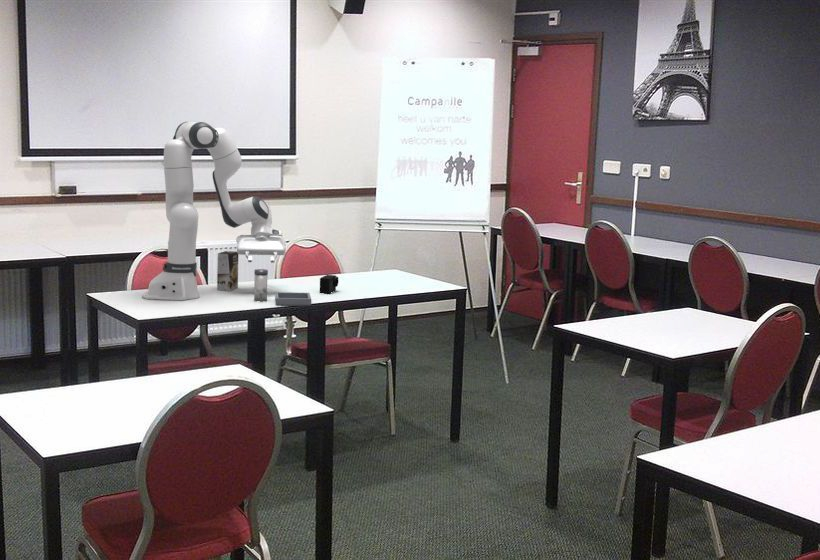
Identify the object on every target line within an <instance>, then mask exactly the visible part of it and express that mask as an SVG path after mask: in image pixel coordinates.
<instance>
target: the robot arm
mask: <svg viewBox="0 0 820 560" xmlns="http://www.w3.org/2000/svg"><path fill="white" fill-rule="evenodd" d="M163 147H164V149H163V171H164V172H163V174H164V185H165V216H166V219H167V221H168V222H169V235H168V240H167V241H168V242H167V261H163V263H162V272H160V273H159V274H157V275H156V276H155V277H154V278H152V279H151V280H150V282H149V284H148V289H147V291H144V292H143V293H142V298H143V299H146V300H161V301H162V300H163V301H164V300H165V301H185V300H192V299H197V298H199V297H200V293H199V289H198V283H197V275H198V265H197V262H196V261H197V258H196V257H197V256H196V255H197V251H196V249H197V236H198V226H199V212H198V210H197V208H196V207H195V206H194V187H195V186H194V185H195V184H194V173H193V163H192V155H193V152H194V150H205V149H207V151H208V152H209V155H210V157H211V158H212V160H213V163H214V170H213V171H212V180H213V185H214V188H215V192H216V196H217V198H218V201H219V202H218V203H219V207H220V210H221V216H222V219H223V222H224V223H225V224H226V225H227V226H229V227H231V228H234V229H235V228H238V227H240V226H242V225H244V224H247V223H250V224H251V227H250V234H240V235H238V236H237V237H236V243H237V246H236V252H237V253H238V256H239V255H242V256H244V255H245V257H246V259H247V261H248V262H247V263H252V262H253V260H252V259H253V257H252V256H253V255H254V256H271V257H270V263H271V264H274V263H275V262H276V261H275V260H276V259H277V257H278V256H284V255H285V254H286V251H287V250H286V242H285V239H284V237H283V231H281V230H279V229H275V228H272V224H273V221H272V220H273V218H272V210H271V207H270V205H269V203H268V202H265V201H264V200H263V199H261V198H260V197H258V196H251V197H248V198H245V199H243V200H239V201H236V202H232V200H231V196H230V194H229V190H228V186H227V182H228V180H229V179H231V177H232V176H233V175H235V174H236V173H237V172H238V171H239V169H240V167H241V166H242V155H241V154H240V151H239V150H238V147H237V144H236V142H235V141H234V140H233V138H232V136H231V135H230V133H229V132H228V131H227V130H226V129H225V128H223V127H213V126H211V124H208V123H207V122H204V121H197V120H190V121H183V122H182V123H180V124H179V125H178V126H177V127H176V129H175V132H174V135H173V137H172V139H171V140H168V141H167V142H165V144H164V146H163ZM250 255H251V256H250Z"/></svg>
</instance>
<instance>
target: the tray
mask: <svg viewBox="0 0 820 560" xmlns="http://www.w3.org/2000/svg"><path fill="white" fill-rule="evenodd" d="M274 295H275V298H274V301H276V302H275V306H276V305H281V306H280V307H312V296H311V293H310V292H292V291H291V292H290V291H289V292H282V291H281V292H280V291H278V292H276V291H275V293H274Z"/></svg>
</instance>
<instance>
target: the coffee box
mask: <svg viewBox="0 0 820 560" xmlns="http://www.w3.org/2000/svg"><path fill="white" fill-rule="evenodd" d="M216 269H217V272H216V273H217V275H216V278H217V279H216V280H217V282H216V283H217V284H216V290H217V289H218V290H217V291H224V290H226V291H225V292H231V291H233V289H234V290H236V289H238V288H239V254H238V253H237V251H226V250H225V251H221V252H218V253H217V268H216Z"/></svg>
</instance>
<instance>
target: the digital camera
mask: <svg viewBox="0 0 820 560" xmlns="http://www.w3.org/2000/svg"><path fill="white" fill-rule="evenodd" d="M338 286H339V277H338V276H337V275H335V274H334V275H333V274H326V275H323V276H322V277H320V278H319V294H320V293H324V294H323V295H330V294H332V293H334V292H335V290H336V291H337V288H336V287H338ZM333 291H334V292H333ZM331 292H332V293H331Z"/></svg>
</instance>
